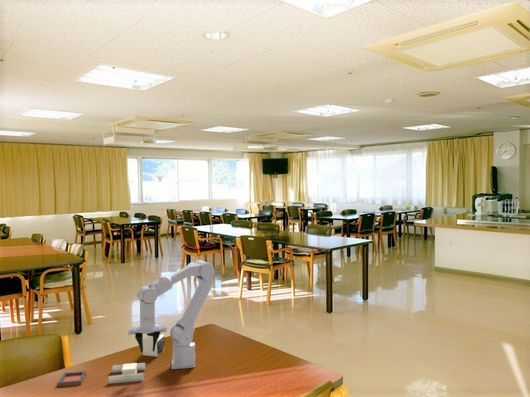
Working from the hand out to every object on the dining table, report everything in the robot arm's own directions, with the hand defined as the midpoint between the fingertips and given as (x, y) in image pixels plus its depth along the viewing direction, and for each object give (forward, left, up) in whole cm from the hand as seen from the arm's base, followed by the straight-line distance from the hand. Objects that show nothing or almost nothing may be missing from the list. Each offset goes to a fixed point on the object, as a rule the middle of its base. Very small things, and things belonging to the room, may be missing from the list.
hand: (147, 350), depth 162 cm
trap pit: (+28, 0, -9) cm, 30 cm away
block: (+7, 0, -10) cm, 12 cm away
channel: (+8, 0, -9) cm, 12 cm away
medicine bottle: (-1, -20, -10) cm, 22 cm away
